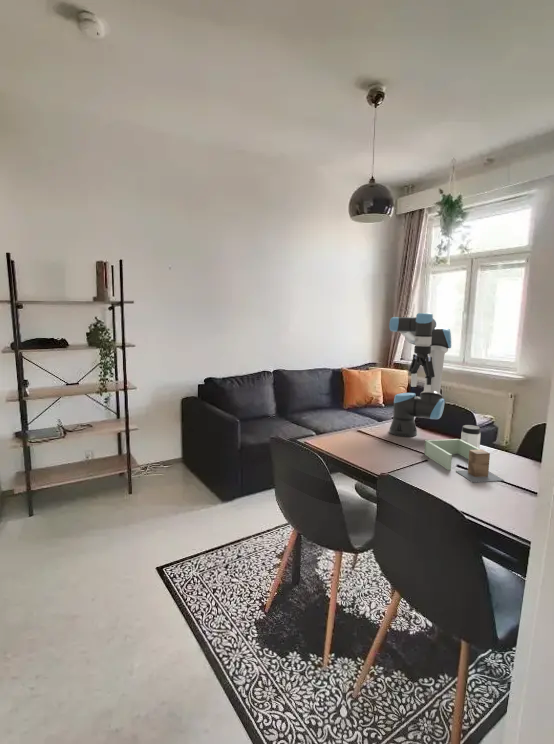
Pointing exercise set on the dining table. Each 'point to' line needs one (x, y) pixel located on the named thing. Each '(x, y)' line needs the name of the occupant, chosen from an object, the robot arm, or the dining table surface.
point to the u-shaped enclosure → (447, 450)
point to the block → (478, 463)
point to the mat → (489, 478)
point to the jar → (471, 435)
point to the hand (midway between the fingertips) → (420, 389)
